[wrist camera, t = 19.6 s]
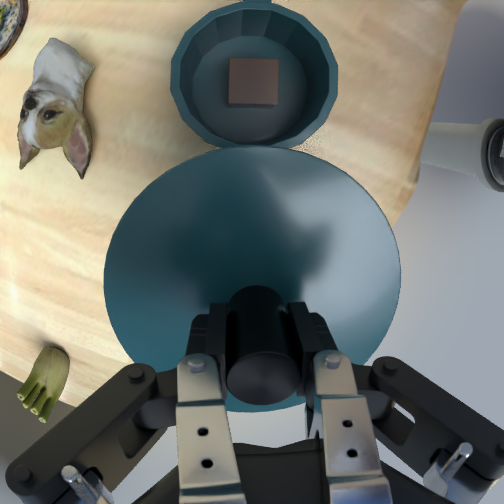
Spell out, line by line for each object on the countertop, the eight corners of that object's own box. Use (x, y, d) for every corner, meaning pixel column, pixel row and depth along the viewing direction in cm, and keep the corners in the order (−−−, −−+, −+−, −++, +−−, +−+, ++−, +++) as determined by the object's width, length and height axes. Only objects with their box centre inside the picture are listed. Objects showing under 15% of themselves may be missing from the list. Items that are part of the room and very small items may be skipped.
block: (273, 68, 29) (279, 59, 25) (272, 108, 31) (278, 104, 27) (229, 67, 29) (229, 57, 25) (228, 107, 31) (228, 103, 27)
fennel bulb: (76, 373, 43) (49, 427, 31) (51, 368, 42) (22, 418, 31) (68, 345, 41) (35, 398, 29) (42, 340, 40) (7, 390, 29)
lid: (408, 155, 14) (491, 174, 8) (363, 389, 19) (393, 459, 13) (96, 151, 13) (19, 168, 7) (137, 394, 18) (116, 470, 12)
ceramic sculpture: (88, 32, 20) (61, 194, 25) (122, 48, 28) (98, 175, 33) (5, 39, 18) (-14, 180, 24) (47, 48, 26) (29, 164, 32)
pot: (314, 16, 28) (336, -13, 20) (310, 177, 34) (332, 190, 26) (189, 11, 27) (177, -21, 19) (184, 174, 34) (169, 187, 26)
